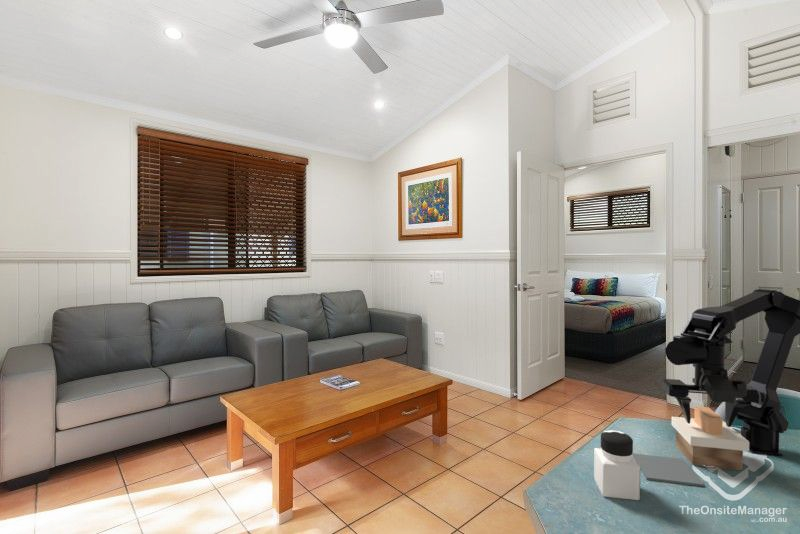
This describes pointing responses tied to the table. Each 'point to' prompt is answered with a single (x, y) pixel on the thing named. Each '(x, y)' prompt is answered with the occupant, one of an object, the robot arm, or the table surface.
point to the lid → (709, 431)
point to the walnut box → (710, 455)
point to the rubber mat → (667, 470)
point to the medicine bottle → (617, 466)
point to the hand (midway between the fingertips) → (708, 424)
